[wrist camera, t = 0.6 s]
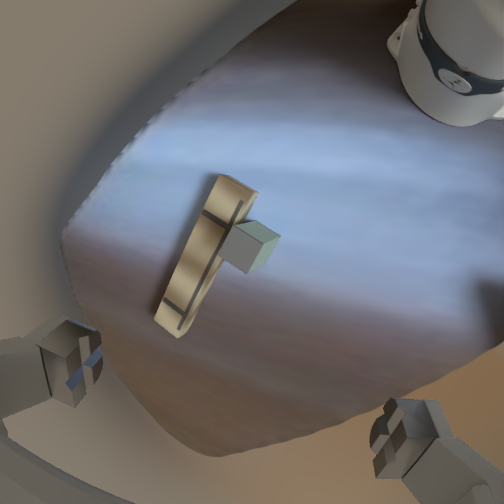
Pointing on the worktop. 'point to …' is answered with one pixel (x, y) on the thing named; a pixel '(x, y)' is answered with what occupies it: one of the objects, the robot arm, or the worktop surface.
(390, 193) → the worktop surface
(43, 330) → the robot arm
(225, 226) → the maple plank
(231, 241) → the post
